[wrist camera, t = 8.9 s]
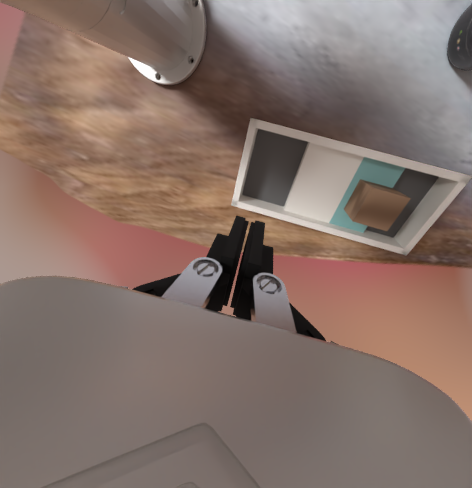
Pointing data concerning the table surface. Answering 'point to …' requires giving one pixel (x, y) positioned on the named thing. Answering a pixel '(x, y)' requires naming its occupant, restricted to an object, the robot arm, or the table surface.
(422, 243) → the table surface
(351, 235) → the tray
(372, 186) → the walnut block
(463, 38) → the supplement bottle
